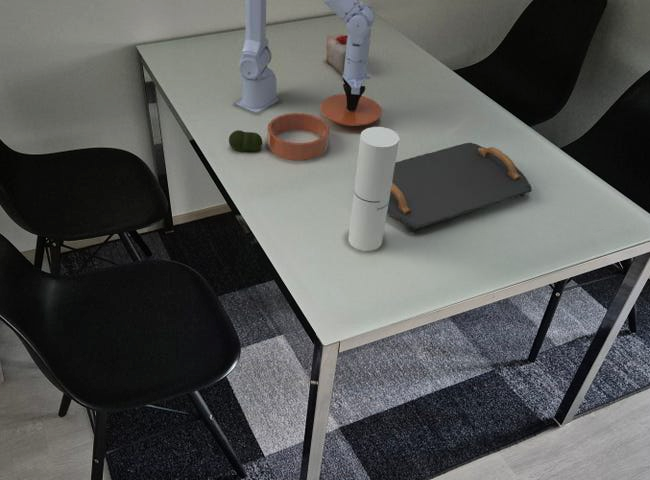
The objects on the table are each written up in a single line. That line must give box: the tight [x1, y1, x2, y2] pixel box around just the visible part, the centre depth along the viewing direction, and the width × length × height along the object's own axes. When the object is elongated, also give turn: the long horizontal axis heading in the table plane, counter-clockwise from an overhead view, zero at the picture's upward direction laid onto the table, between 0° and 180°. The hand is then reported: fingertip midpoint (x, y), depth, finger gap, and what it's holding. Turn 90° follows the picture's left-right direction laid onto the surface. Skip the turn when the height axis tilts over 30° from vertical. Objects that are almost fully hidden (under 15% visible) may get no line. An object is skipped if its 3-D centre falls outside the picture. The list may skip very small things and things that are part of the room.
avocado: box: [228, 130, 263, 152], centre depth 158 cm, size 8×5×5 cm, turn 88°
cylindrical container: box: [348, 126, 400, 252], centre depth 127 cm, size 7×7×25 cm
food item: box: [325, 33, 348, 77], centre depth 192 cm, size 14×8×10 cm, turn 23°
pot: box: [267, 112, 330, 162], centre depth 160 cm, size 15×15×5 cm
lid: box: [320, 93, 383, 127], centre depth 168 cm, size 16×16×5 cm
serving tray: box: [387, 142, 533, 233], centre depth 147 cm, size 39×23×6 cm, turn 117°
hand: (351, 106), depth 169 cm, fingers closed on lid, 2 cm apart
